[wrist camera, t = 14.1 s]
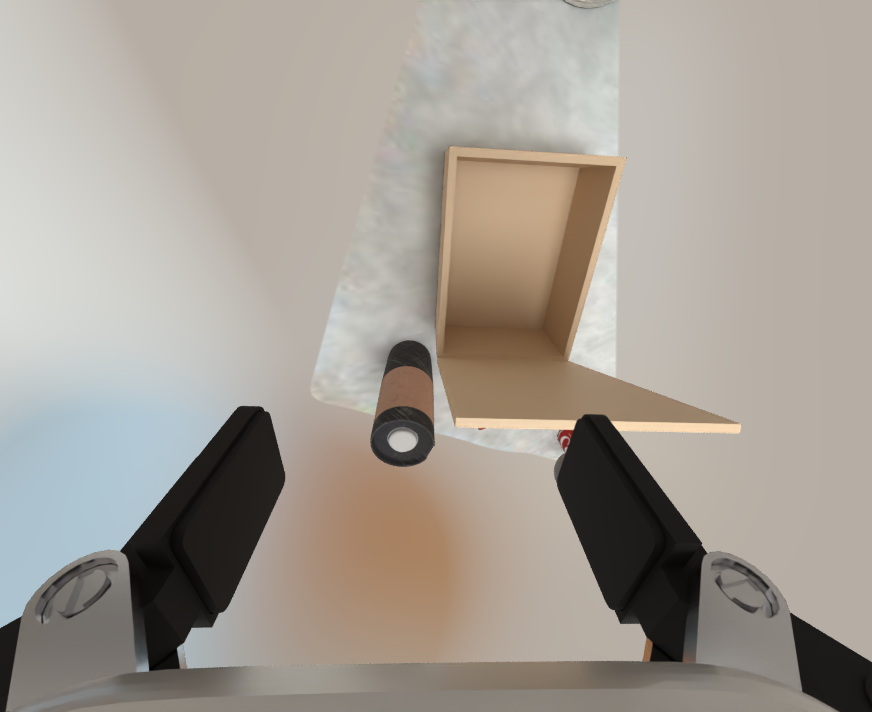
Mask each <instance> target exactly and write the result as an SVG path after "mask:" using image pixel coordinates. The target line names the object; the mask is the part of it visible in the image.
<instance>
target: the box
mask: <svg viewBox="0 0 872 712" xmlns="http://www.w3.org/2000/svg"><path fill="white" fill-rule="evenodd" d="M626 159H627V158H626V157H613V156H598V155H582V154H566V153H550V152H534V151H518V150H502V149H486V148H471V147H455V146H450V147H449V148H448V149H447V150H446V151H445V156H444V174H443V193H442V211H441V230H440V248H439V267H438V285H437V303H436V322H435V333H436V350H437V357H447V358H479V359H511V360H543V361H568V359H569V356H570V353H571V349H572V346H573V342H574V339H575V335H576V332H577V328H578V325H579V321H580V318H581V314H582V311H583V308H584V304H585V301H586V297H587V294H588V290H589V287H590V283H591V280H592V276H593V273H594V269H595V266H596V262H597V259H598V256H599V252H600V249H601V245H602V242H603V238H604V235H605V231H606V228H607V224H608V221H609V217H610V214H611V211H612V207H613V204H614V200H615V197H616V193H617V190H618V186H619V183H620V179H621V176H622V172H623V169H624V165H625V162H626Z"/></svg>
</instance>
